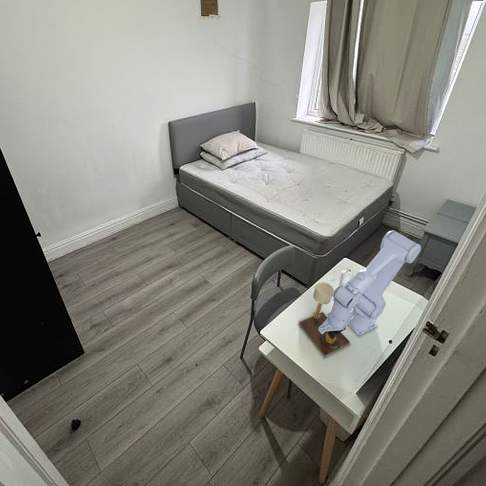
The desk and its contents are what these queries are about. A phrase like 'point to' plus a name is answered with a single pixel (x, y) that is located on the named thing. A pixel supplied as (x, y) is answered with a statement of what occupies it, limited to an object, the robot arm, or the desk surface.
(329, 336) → the lamp switch
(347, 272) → the perfume bottle
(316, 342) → the lamp base
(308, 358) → the desk surface
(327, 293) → the lamp
